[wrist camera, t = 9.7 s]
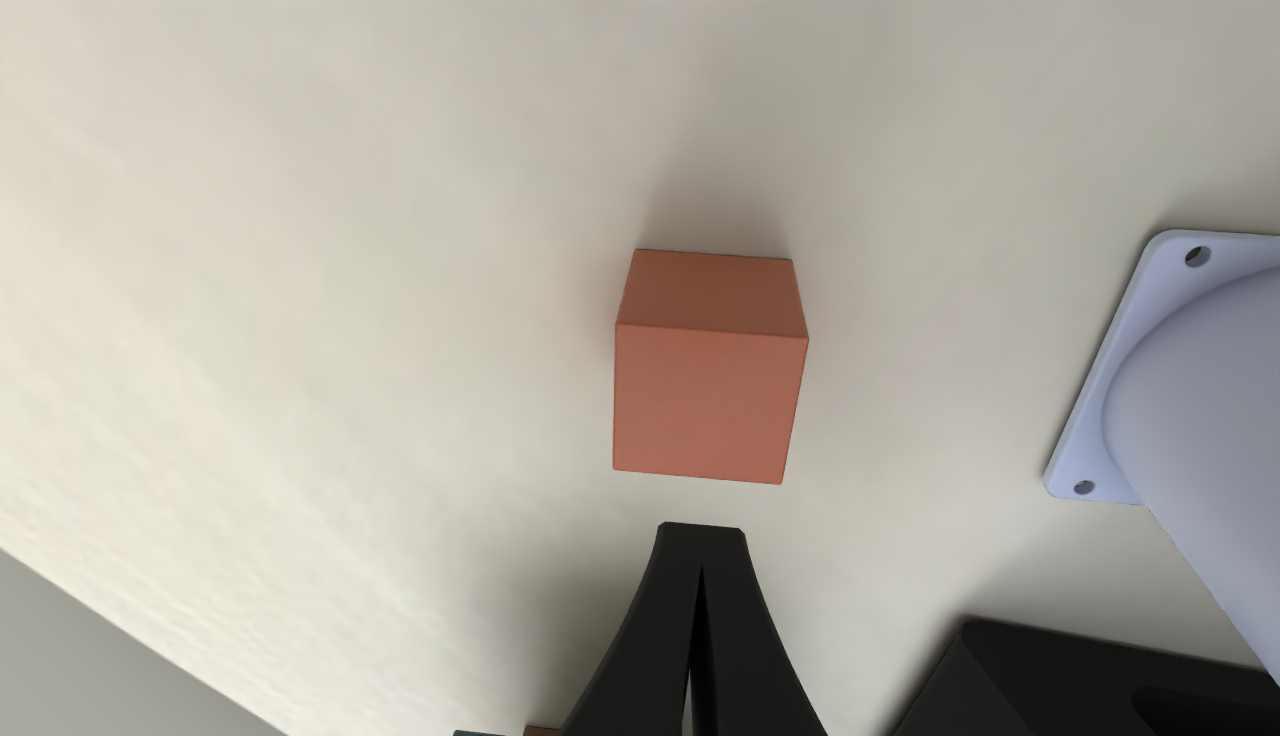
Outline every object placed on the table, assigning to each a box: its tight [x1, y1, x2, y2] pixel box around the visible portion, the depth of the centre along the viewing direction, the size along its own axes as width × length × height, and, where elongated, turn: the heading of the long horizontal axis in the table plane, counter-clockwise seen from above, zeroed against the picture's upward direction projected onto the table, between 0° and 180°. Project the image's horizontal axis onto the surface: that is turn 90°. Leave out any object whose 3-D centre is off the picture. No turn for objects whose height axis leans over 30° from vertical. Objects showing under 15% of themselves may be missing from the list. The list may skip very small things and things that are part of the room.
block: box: [613, 249, 809, 485], centre depth 17 cm, size 4×4×4 cm
